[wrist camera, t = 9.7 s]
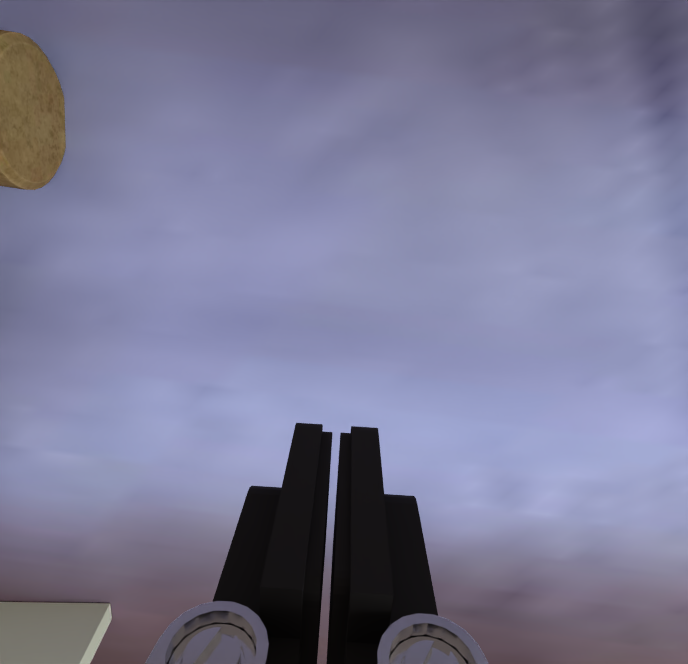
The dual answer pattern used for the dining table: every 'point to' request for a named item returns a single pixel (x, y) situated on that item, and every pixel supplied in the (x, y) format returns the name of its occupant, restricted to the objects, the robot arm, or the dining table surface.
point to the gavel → (29, 114)
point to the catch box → (51, 632)
